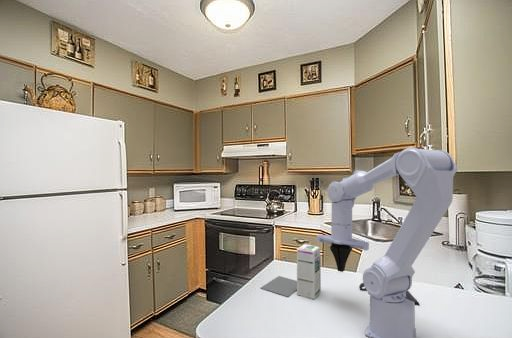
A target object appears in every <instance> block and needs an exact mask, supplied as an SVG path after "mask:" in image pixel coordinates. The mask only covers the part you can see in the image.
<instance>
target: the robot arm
mask: <svg viewBox="0 0 512 338" xmlns="http://www.w3.org/2000/svg"><path fill="white" fill-rule="evenodd" d="M457 171H458V167H457V165H456V162H455V161H454V159H453V157H452V155H451V154H450V153H449V152H447V151H446V150H443V149H427V148H426V149H423V148H417V147H407V148H404V149H403V150H402V151H399V152H396V153H394V154H393V156H392V157H390V158H389V159H387V160H386V161H385V160H384V162H382V163H380V164H378V165H376V167H374V168H373V169H371V170H369V171H364V170H355V171H353V174H352V175H350V176H348V177H344V178H342V180H341V181H339V182H338V181H332V182H331V183H330V184H329V185H328V188H327V197H328V199H329V200H330V201H331V223H330V225H331V227H330V228H331V233H330V234H331V235H329V234H328V235H327V234H317V235H316V242H317V243H325V244H331V245H330V247H329V248H330V249H329V250H330V251H331V253H332V255H333V258H334V260H335V263H336V269H337V271H338V272H340V273H341V272H342V273H343V272H345V269H346V265H347V264H346V263H347V261H348V259H349V256H350V254H351V252H352V250H353V248H354V249H360V250H363V251H368V250H369V248H370V242H369V241H364V240H360V239H355V238H353V208H354V206H355V201H356V199H357V198H358V197H360V196H362V195H365V194H366V193H368V192H372V190H373V189H374V187H375V184H379V183H381V182H383V181H386V180H387V179H390V178H393V177H396V176H399V175H400V177H401V178H402V179H403V180H404V182H405V184H406V185H407V186H408V187H409V188H410V191H412V193H414V195H415V198H416V199H415V200H414V202H413V204H412V206H411V207H410V209H409V211H408V213H407V215H406V217H405V219H403V223H402V224H401V225H400V228H399V229H398V231H397V233H396V235H395V236H394V237H393V240H392V242H391V243H390V245H389V247H388V248H387V251H386V252H385V254H384V255H383V256H381V257H379V258H378V259H376V260H375V261H374V262H373V263H372V265H371V266H370V267H368V268H367V269H365V270H364V271H363V273H362V283H364V286H365V287H364V288H366V290H367V291H366V292H367V294H368V295H369V323H368V325H367V327H366V330H365V333H364V336H367V337H368V338H369V337H370V338H416V337H417V328H416V327H415V326H416V303H415V302H413V301H410V300H408V299H406V298H404V297H405V296H406V291H409V290H410V289H411V288H412V285H413V284H412V283H413V277H414V274H415V272H416V271H415V269H414V268H413V264H414V263H415V261H416V259H417V258H418V256H419V255H420V254H421V252H422V250H423V248H424V247H425V245H426V243H427V242H428V241H429V240H430V237H431V236H432V234H433V233H434V232H435V230H436V228H437V227H438V225H439V223H440V222H441V220H442V219H443V217H444V216H445V214H446V212H447V210H448V209H449V208H450V206H451V204H452V203H453V195H454V193H453V192H454V176H455V174H456V172H457Z"/></svg>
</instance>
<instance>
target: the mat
mask: <svg viewBox="0 0 512 338" xmlns="http://www.w3.org/2000/svg"><path fill="white" fill-rule="evenodd" d="M260 289H261V290H263V291H267V292H270V293H272V294H276V295H279V296H282V297H286V298H289V297H291V296H292V295H293V294H294V293H296V292H297V279H296V280H295V279H291V278H288V277H284V276H281V275H278V276H276V277H274V278H273V279H272V280H270V281H269V282H267V283H266V284H264V285H262V286H261V287H260Z"/></svg>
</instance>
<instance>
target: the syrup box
mask: <svg viewBox="0 0 512 338" xmlns="http://www.w3.org/2000/svg"><path fill="white" fill-rule="evenodd" d="M296 281H297V291H296V295H297V296H301V297H303V298H306V299H311V300H315V299H317V297H319V294H320V293H321V292H322V291H321V287H322V286H321V246H320V245H319V246H317V245H314V244H303V245H301V246H299V247H297V249H296Z"/></svg>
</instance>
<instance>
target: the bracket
mask: <svg viewBox="0 0 512 338" xmlns="http://www.w3.org/2000/svg"><path fill="white" fill-rule="evenodd" d="M358 288H359V290H360V291H362V292H368V291H367V290H366V288H365V286H364V283H363V282H361V283H360V284H359V286H358ZM404 298H406V299H408V300H410V301H413V302H415V305H417V306H419V307H420V305H421V304H420V303H419V301H418V300H417V299H416V298H415V297H414V296H413V295H412V293H411V292H410V291H409V290H408V291H406V296H405V297H404Z"/></svg>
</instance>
